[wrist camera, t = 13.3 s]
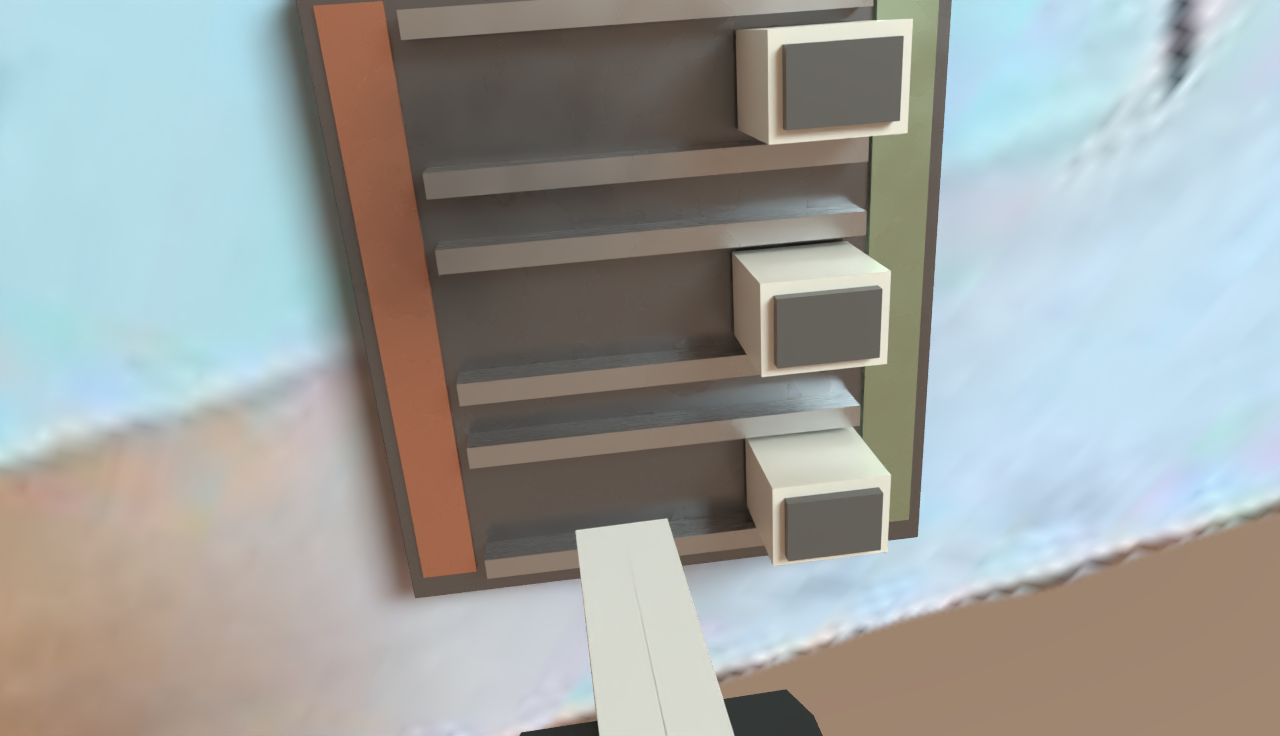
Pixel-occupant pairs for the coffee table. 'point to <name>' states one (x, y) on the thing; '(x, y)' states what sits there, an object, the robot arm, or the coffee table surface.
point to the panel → (602, 266)
